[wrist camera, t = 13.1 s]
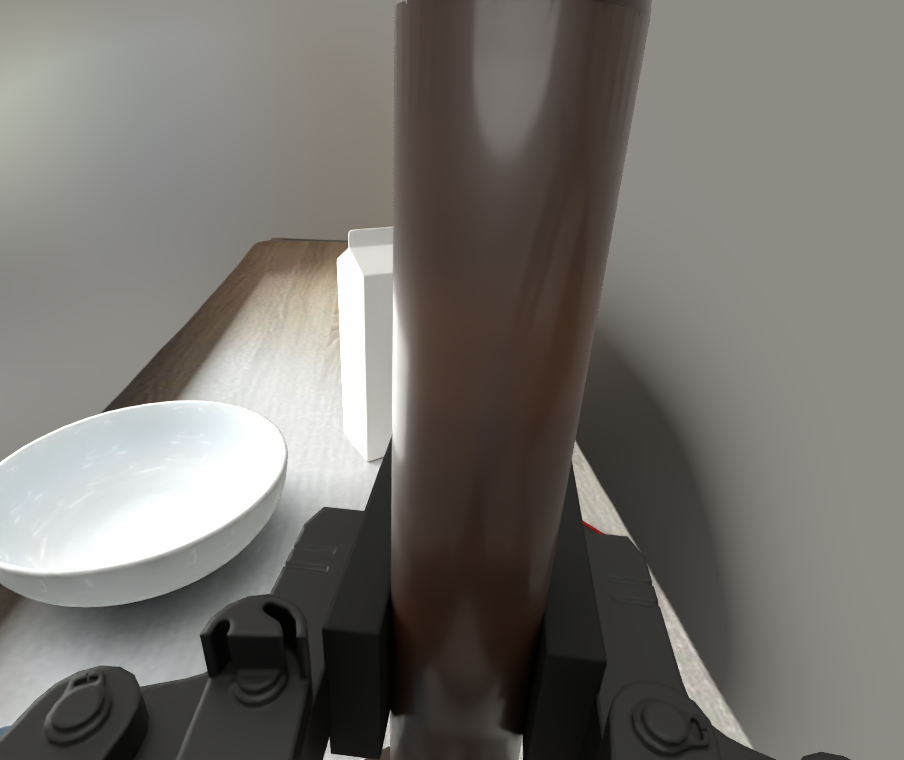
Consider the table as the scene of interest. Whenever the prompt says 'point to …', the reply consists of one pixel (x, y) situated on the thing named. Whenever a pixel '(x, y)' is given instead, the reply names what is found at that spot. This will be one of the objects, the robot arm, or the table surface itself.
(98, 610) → the table surface
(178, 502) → the serving bowl
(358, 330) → the milk
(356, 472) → the table surface
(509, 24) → the paper towel holder
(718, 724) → the table surface
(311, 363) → the table surface
